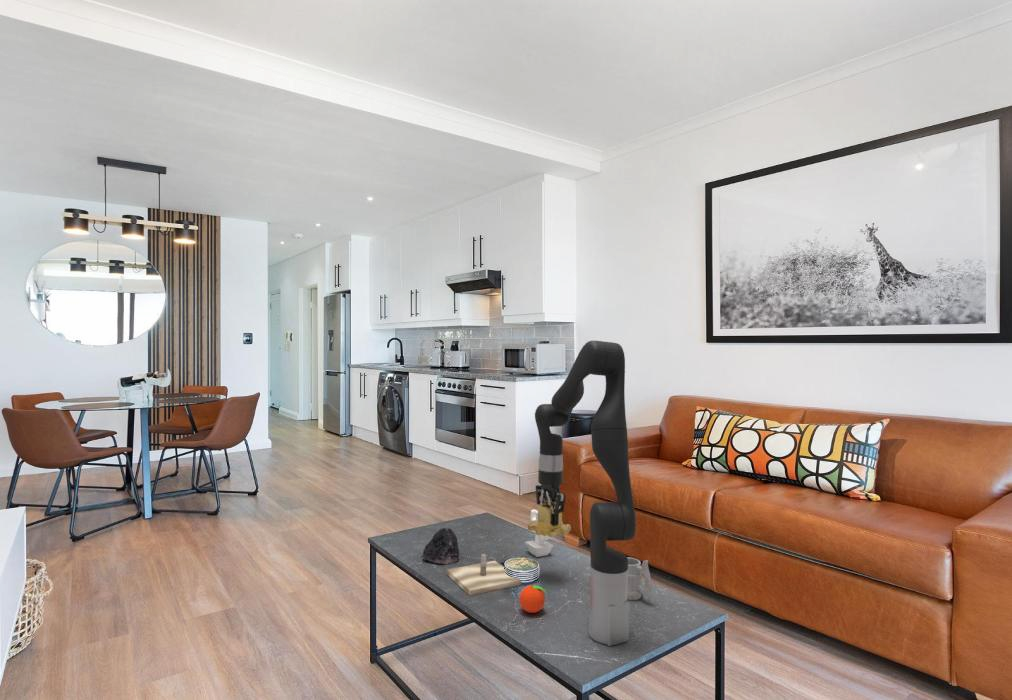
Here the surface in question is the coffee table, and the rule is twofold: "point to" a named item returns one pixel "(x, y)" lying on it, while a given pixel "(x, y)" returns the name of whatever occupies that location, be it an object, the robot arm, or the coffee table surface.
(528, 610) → the clementine
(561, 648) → the coffee table surface
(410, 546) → the coffee table surface
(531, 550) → the figurine
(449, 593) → the coffee table surface
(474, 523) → the coffee table surface
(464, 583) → the carrier plate
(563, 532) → the gear
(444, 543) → the black rock
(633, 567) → the mug
